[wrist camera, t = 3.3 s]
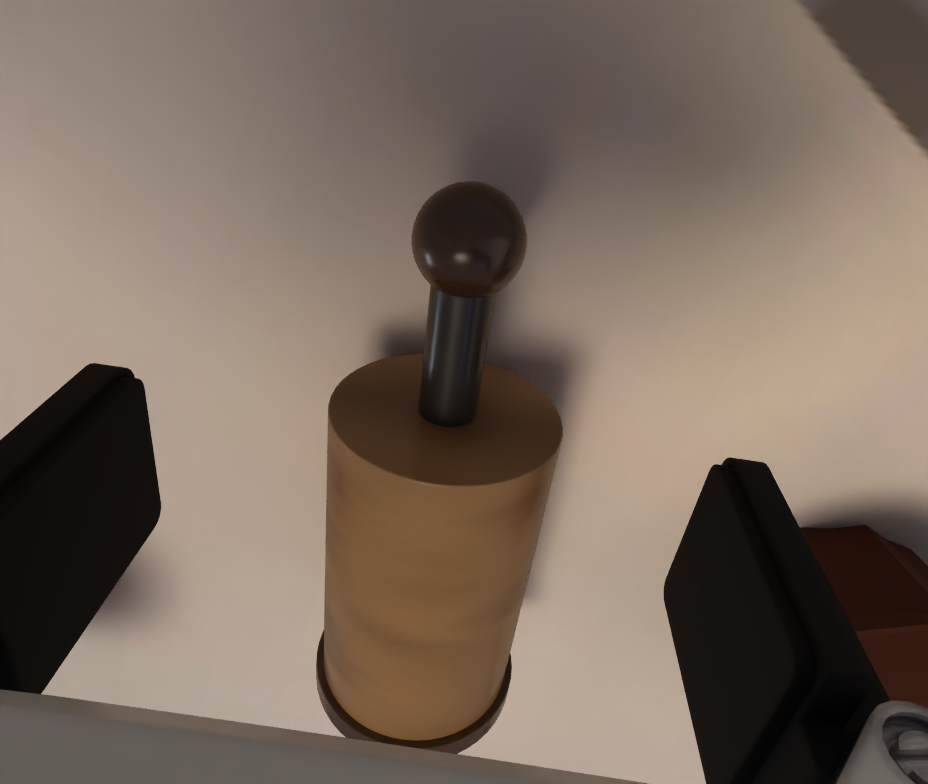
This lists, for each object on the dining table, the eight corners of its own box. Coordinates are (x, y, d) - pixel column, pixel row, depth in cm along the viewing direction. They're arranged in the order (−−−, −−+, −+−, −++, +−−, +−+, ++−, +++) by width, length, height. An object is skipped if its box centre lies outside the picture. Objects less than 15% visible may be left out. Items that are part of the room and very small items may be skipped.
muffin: (662, 643, 35) (710, 855, 27) (750, 482, 29) (848, 687, 21) (878, 683, 36) (993, 903, 27) (1006, 533, 30) (1203, 752, 21)
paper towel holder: (339, 582, 34) (355, 133, 23) (508, 605, 34) (608, 168, 23) (292, 748, 27) (280, 205, 15) (507, 776, 27) (655, 257, 15)
